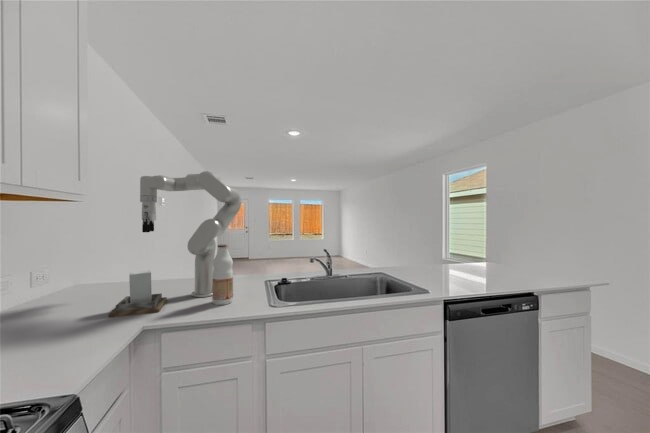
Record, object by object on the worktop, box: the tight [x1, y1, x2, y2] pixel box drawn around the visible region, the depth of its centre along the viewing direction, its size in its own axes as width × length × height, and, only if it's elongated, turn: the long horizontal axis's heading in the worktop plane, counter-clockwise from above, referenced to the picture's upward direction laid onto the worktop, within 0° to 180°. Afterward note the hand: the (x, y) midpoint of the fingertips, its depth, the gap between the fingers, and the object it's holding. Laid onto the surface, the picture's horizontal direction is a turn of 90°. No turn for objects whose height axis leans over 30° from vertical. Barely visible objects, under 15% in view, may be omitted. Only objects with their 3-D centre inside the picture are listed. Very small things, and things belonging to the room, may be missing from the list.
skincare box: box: [129, 269, 153, 304], centre depth 124 cm, size 8×6×15 cm
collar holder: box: [108, 292, 168, 318], centre depth 124 cm, size 18×18×4 cm
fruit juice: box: [211, 243, 234, 306], centre depth 133 cm, size 9×9×28 cm
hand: (148, 231), depth 146 cm, fingers open, 9 cm apart
